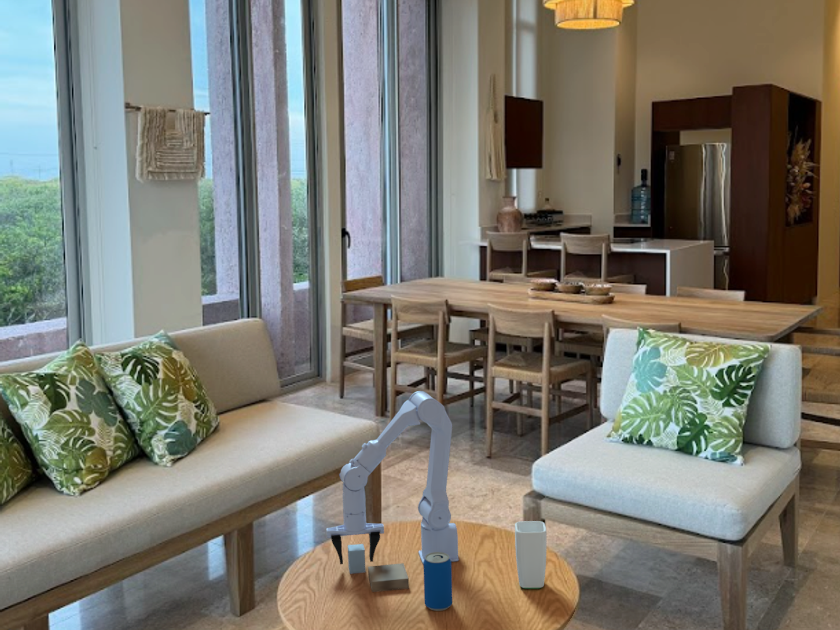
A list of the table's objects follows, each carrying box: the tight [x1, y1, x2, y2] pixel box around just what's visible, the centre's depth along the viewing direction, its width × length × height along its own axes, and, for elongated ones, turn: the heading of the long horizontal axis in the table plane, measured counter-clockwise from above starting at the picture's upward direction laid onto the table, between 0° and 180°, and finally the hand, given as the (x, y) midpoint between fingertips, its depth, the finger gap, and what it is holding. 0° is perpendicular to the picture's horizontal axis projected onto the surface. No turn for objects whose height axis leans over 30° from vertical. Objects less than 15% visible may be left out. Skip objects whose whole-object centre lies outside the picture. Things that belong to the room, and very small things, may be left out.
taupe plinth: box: [367, 562, 410, 593], centre depth 223 cm, size 9×9×3 cm
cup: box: [514, 520, 547, 590], centre depth 218 cm, size 7×7×15 cm
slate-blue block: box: [347, 543, 366, 575], centre depth 230 cm, size 4×4×6 cm
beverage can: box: [422, 552, 453, 612], centre depth 209 cm, size 6×6×12 cm
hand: (356, 561), depth 230 cm, fingers open, 7 cm apart
